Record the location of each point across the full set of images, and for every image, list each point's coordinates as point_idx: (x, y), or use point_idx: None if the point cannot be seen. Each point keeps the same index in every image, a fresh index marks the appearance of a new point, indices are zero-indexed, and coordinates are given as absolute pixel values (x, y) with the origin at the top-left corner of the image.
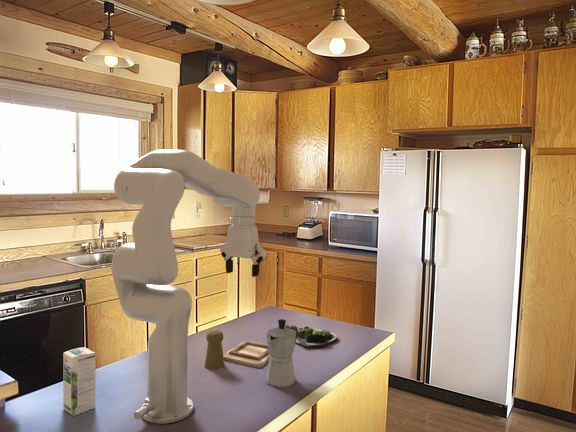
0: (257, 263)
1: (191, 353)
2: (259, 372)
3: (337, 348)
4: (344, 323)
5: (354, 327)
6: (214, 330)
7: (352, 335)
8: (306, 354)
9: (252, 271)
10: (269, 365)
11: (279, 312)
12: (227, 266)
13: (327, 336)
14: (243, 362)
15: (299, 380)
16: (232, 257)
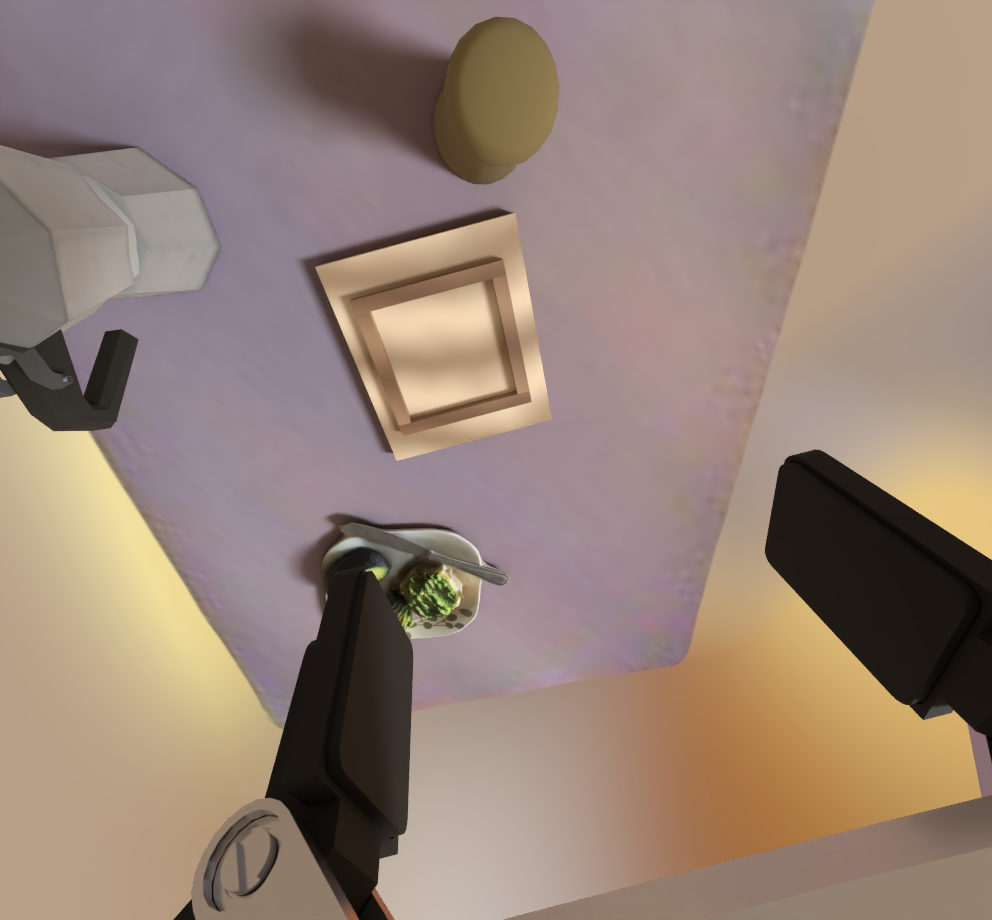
0: (221, 853)
1: (668, 164)
2: (281, 230)
3: (286, 583)
4: (425, 705)
5: None
6: (522, 102)
7: None
8: (311, 488)
9: (342, 631)
10: (111, 171)
11: (635, 651)
12: (886, 520)
13: None
14: (395, 244)
15: None
16: (986, 771)
